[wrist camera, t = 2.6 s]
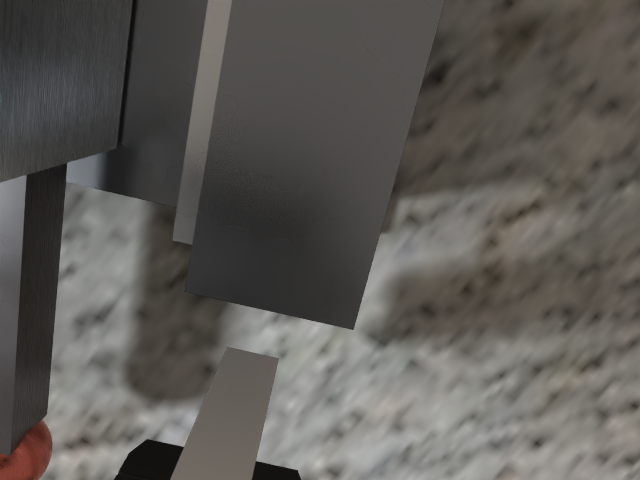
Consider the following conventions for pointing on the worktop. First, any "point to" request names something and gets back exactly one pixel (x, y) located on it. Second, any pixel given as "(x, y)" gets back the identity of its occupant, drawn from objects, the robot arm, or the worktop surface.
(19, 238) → the free jaw
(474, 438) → the worktop surface
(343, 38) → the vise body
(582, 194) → the worktop surface
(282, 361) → the worktop surface
